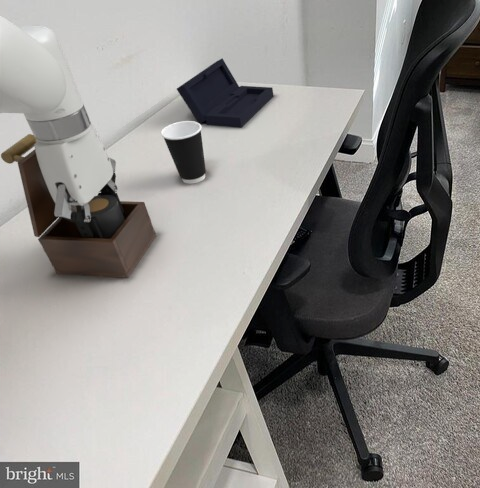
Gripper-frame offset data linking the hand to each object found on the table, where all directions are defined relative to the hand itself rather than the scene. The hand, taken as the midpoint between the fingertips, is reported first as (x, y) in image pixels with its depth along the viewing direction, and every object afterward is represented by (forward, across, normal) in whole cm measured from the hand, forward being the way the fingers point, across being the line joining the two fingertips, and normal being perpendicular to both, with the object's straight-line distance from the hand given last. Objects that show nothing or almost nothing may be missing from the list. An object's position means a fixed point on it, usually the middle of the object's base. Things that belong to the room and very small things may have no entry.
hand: (104, 225), depth 78 cm
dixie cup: (+6, -26, +4) cm, 27 cm away
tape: (+1, 0, 0) cm, 1 cm away
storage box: (+6, -62, +2) cm, 62 cm away
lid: (-8, 0, -6) cm, 10 cm away
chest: (+6, 0, -2) cm, 6 cm away
